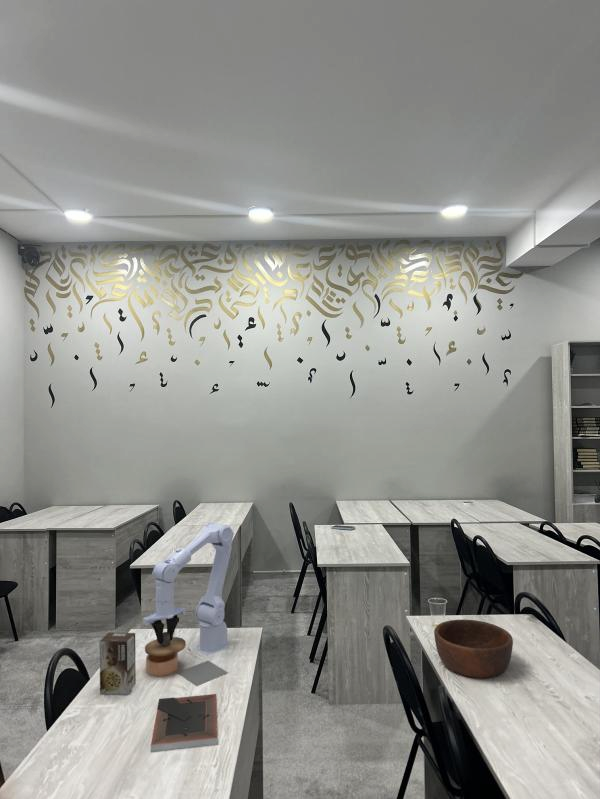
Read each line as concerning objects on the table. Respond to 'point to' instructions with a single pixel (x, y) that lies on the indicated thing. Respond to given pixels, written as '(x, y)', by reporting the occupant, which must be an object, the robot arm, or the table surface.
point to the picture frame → (185, 722)
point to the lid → (165, 646)
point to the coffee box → (117, 663)
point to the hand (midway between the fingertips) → (164, 641)
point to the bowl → (161, 664)
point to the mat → (202, 673)
